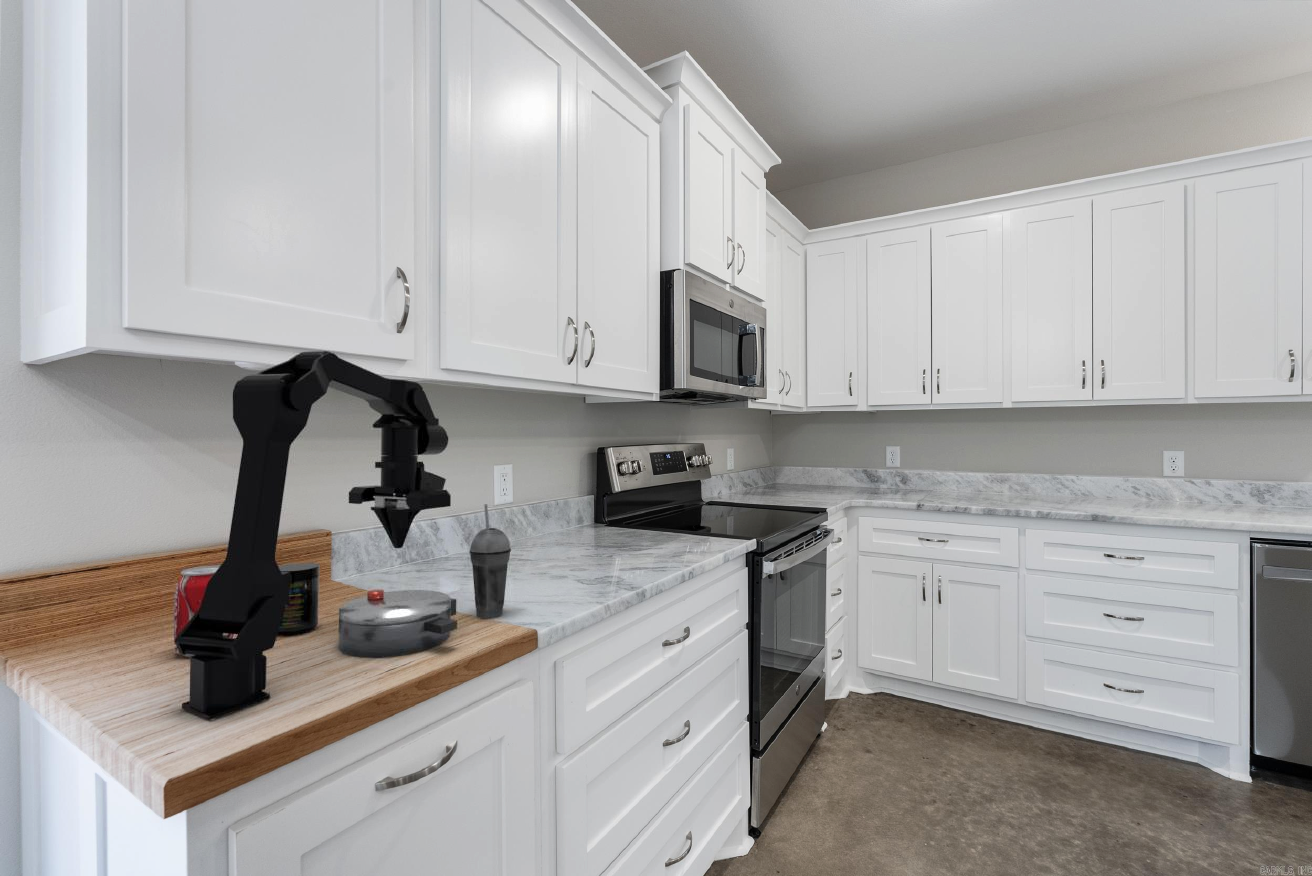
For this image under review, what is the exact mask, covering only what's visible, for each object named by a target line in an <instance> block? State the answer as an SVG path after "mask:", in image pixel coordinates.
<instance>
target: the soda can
mask: <svg viewBox="0 0 1312 876" xmlns="http://www.w3.org/2000/svg"><path fill="white" fill-rule="evenodd" d="M220 566H221V564H220V565H215V564H214V565H205V566H204V565H203V566H202V565H201V566H196V567H191V568H187V569H183V570H182V571H181V570H180V577H179V578H178V580H177V582H176V583H175V587H174V602H173V603H174V605H173V611H174V612H173V641H174V642H173V643H174V651H175V653H177V654H179V655H181V654H180V653H179V651H178V648H177V646H176V643H175V639H176V637H177V636H178V635H179V633H180V632H181V631H182V630H183V628H184V627H185V626H186V625H187V623H188V622H189V621H190V619H191V618H192V617H193V616H194V614H195V613H196V612H197V611H198V609H199V608H200V606H201V603H202V599H203V596H204V593H205V590H206V586H207V583H208V581H209V580H210V578H211V577H212V576H213V575H214V573H215V572H216V571H217V569H218V568H219V567H220ZM234 635H235V634H228V633H223V636H222V637H227V638H234ZM182 656H183V657H185V658H190V657H191V656H195V655H190V654H185V655H182Z"/></svg>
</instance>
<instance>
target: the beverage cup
mask: <svg viewBox="0 0 1312 876" xmlns="http://www.w3.org/2000/svg"><path fill="white" fill-rule="evenodd" d="M488 509H489V507H488V503H485V504H484V517H485V527H486V528H483V529H480V530H479V532H478V533H476V534H475V535H474V537H473V539H472V541H471V544H470V549H469V552H468V553H470V555H469V556H470V562H471V565H472V577H473V578H472V579H473V592H474V604H475V611H476V617H477V618H479V619H483V620H484V619H485V620H487V619H489V620H490V619H496V618H499V617H501V616H503V615H504V614H503V611H504V605H505V596H506V595H505V594H506V585H507V577H508V576H507V575H508V564H509V562H510V561H509V560H510V555H511V552H512V549H511V543H510V542H511V541H510V540H509V537H508V536H507V534H506V533H505V532H504V531H503V530H501V529H499V528H497V527H496V528H494V527H490V522H489V510H488Z"/></svg>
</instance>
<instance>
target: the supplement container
mask: <svg viewBox="0 0 1312 876" xmlns="http://www.w3.org/2000/svg"><path fill="white" fill-rule="evenodd" d="M278 567H279V569H280V571H281V572H290V573H291V575H292V582H291V586H290V591H289V601H290V606H285V612H284V616H283V618H282V620H281V623H280V627H279V630H278V634H277V637H292V636H293V637H294V636H301V635H304V634H308V633H310V632H313V631H314V630H315V629H317V628H318V625H319V614H320V613H319V612H320V611H319V608H320V604H319V603H320V602H319V601H320V598H319V596H320V575H321V574H320V564H319V563H316V562H294V563H287V564H281V565H278Z"/></svg>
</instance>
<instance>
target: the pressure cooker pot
mask: <svg viewBox="0 0 1312 876" xmlns="http://www.w3.org/2000/svg"><path fill="white" fill-rule="evenodd" d="M450 598H451V606H450V608H449V609H448V610H447V611H445V612H443V613H441V614H439V615H436V616H434V617H431V618H427V619H423V620H419V621H414V622H408V623H401V624H392V625H358V624H351V623H347V622H344V621H342V620H341V619H340V618H339V617H338V650H339V652H341V653H342V654H345V655H347V656H349V657H350V656H351V657H355V658H365V659H366V658H367V659H368V658H369V659H378V658H379V659H380V658H381V659H382V658H394V657H395V658H396V657H402V656H407V655H412V654H417V653H419V652H420V653H421V652H424V651H428V650H430V649H433V648H436V647H438V646H440V645H442V644H444V643H445V642H446V641H448V640H449V638H450V636H451V632H452V631H454V630H458V620H457V619H452V618H451V617H454V616H456V615H457V598H452V597H450ZM342 605H343V604H341V605H340V606H342ZM443 642H444V643H443Z"/></svg>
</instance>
